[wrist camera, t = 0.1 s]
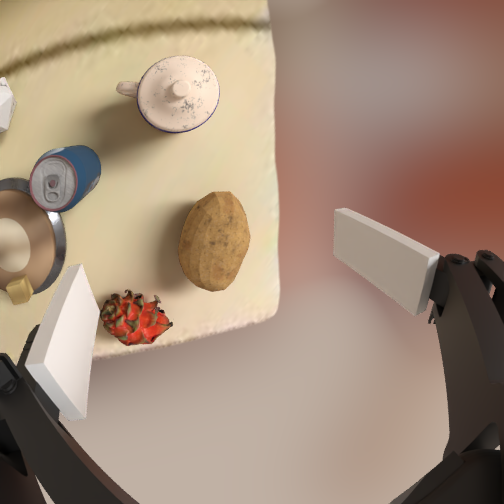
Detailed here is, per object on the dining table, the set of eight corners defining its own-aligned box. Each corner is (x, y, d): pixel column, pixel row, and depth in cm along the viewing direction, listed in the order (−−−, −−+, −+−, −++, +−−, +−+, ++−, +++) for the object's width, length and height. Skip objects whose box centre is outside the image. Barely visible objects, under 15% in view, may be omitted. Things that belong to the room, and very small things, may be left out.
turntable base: (-37, 198, 25) (-39, 199, 25) (49, 161, 30) (48, 161, 30) (-2, 301, 33) (-3, 303, 33) (82, 281, 38) (81, 283, 38)
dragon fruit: (98, 287, 41) (164, 299, 48) (93, 338, 39) (160, 346, 46) (105, 282, 35) (183, 297, 41) (99, 344, 32) (178, 353, 39)
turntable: (-33, 206, 25) (-49, 215, 21) (40, 175, 30) (27, 180, 25) (-2, 295, 32) (-13, 311, 28) (69, 277, 37) (62, 294, 32)
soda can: (59, 145, 30) (25, 150, 20) (104, 144, 33) (84, 147, 22) (58, 194, 32) (25, 217, 22) (101, 194, 35) (82, 217, 25)
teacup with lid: (213, 80, 34) (237, 60, 24) (196, 140, 37) (212, 141, 27) (131, 63, 29) (123, 36, 19) (113, 125, 32) (96, 120, 22)
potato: (248, 189, 42) (268, 201, 35) (231, 274, 47) (246, 299, 40) (183, 180, 38) (191, 190, 31) (171, 271, 43) (176, 297, 36)
